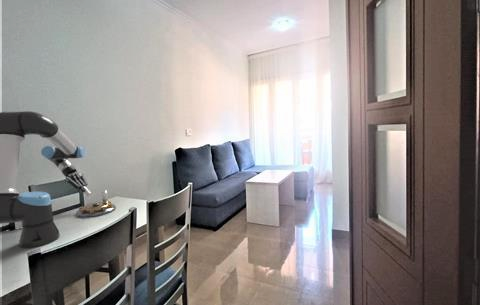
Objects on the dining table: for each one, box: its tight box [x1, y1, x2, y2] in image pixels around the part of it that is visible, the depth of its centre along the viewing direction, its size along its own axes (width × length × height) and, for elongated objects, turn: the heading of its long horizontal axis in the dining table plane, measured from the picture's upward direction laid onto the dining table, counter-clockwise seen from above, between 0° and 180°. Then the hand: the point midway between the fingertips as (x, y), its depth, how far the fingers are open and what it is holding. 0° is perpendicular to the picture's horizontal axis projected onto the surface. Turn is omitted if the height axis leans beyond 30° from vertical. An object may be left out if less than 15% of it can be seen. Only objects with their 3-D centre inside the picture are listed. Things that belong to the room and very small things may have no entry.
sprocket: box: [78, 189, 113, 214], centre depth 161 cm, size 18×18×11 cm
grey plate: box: [75, 203, 117, 219], centre depth 162 cm, size 22×22×2 cm
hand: (89, 194), depth 166 cm, fingers closed
